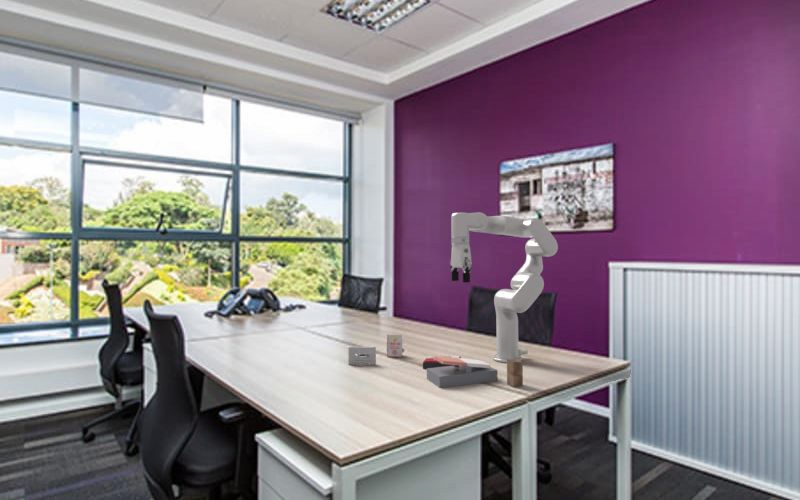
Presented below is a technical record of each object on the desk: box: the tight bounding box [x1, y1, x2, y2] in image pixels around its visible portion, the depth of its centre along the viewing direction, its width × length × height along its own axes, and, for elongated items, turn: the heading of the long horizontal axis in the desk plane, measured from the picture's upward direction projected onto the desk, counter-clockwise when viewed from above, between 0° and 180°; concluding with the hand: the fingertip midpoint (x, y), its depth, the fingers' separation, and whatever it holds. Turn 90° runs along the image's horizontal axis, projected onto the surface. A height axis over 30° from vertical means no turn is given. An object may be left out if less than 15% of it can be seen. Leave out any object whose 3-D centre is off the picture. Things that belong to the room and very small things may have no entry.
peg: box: [506, 359, 524, 388], centre depth 165 cm, size 4×4×9 cm
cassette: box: [347, 346, 377, 366], centre depth 197 cm, size 12×2×8 cm, turn 87°
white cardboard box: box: [386, 334, 403, 358], centre depth 211 cm, size 4×7×10 cm, turn 83°
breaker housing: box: [426, 365, 499, 389], centre depth 173 cm, size 24×12×6 cm, turn 109°
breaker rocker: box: [433, 355, 491, 368], centre depth 173 cm, size 20×8×2 cm, turn 109°
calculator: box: [422, 355, 462, 370], centre depth 192 cm, size 11×4×15 cm
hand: (460, 281), depth 193 cm, fingers open, 9 cm apart
